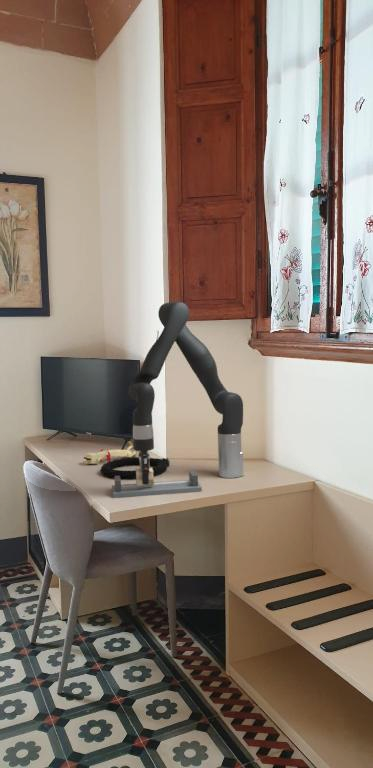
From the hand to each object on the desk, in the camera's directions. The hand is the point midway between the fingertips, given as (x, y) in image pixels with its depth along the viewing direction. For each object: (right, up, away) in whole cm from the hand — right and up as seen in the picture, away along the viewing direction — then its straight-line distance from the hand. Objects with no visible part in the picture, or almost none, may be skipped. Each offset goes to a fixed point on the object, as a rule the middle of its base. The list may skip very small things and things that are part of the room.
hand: (145, 481), depth 239 cm
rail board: (+4, -3, +1) cm, 5 cm away
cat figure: (-19, +1, +52) cm, 56 cm away
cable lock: (-5, -1, +32) cm, 32 cm away
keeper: (0, -1, 0) cm, 1 cm away
